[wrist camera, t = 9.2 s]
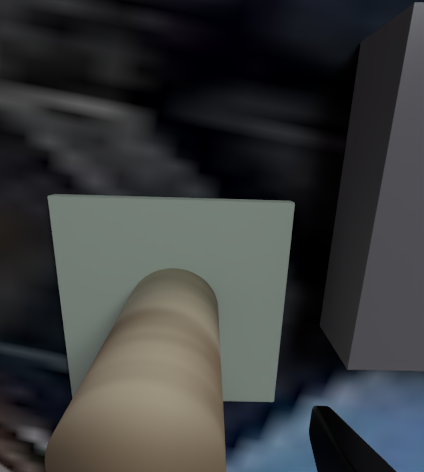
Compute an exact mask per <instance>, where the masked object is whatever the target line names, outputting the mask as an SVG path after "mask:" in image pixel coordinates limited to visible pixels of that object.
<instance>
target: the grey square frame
mask: <svg viewBox="0 0 424 472" xmlns="http://www.w3.org/2000/svg"><path fill="white" fill-rule="evenodd" d="M320 327H321V329H322V330H323V332H324V333H325V335H326V337H327V338H328V340H329V341H330V343H331V344H332V346H333V348H334V349H335V351H336V352H337V354H338V355H339V357H340V359H341V360H342V362H343V363H344V365H345V367H346V368H347V370H389V371H424V3H423V2H414V3H413V4H412V5H410V6H409V7H407V8H406V9H405V10H403V11H402V12H401V13H399V14H398V15H397V16H395V17H394V18H393V19H391V20H390V21H389V22H387V23H386V24H385V25H383V26H382V27H380V28H379V29H378V30H376V31H375V32H374V33H372V34H371V35H370V36H368V37H367V38H366V39H364V40H363V41H362V42H361V44H360V51H359V58H358V65H357V72H356V79H355V86H354V93H353V99H352V106H351V113H350V120H349V127H348V134H347V141H346V148H345V154H344V161H343V168H342V175H341V182H340V189H339V196H338V203H337V209H336V216H335V223H334V230H333V237H332V244H331V251H330V258H329V264H328V271H327V278H326V285H325V292H324V299H323V306H322V313H321V319H320Z"/></svg>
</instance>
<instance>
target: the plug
mask: <svg viewBox="0 0 424 472" xmlns="http://www.w3.org/2000/svg"><path fill="white" fill-rule="evenodd" d="M45 470H46V472H226V454H225V433H224V413H223V393H222V373H221V353H220V333H219V313H218V302H217V298H216V295H215V293H214V291H213V289H212V288H211V287H210V285H209V284H208V283H207V282H206V281H205V280H204V279H203V278H201V277H200V276H198V275H197V274H195V273H193V272H190V271H187V270H183V269H177V268H167V269H161V270H158V271H155V272H153V273H151V274H149V275H147V276H146V277H144V278H143V279H142V280H141V281H140V282H139V283H138V284H137V286H136V287H135V288H134V290H133V292H132V294H131V296H130V297H129V299H128V301H127V303H126V304H125V306H124V308H123V310H122V312H121V313H120V315H119V317H118V319H117V320H116V322H115V324H114V326H113V328H112V329H111V331H110V333H109V335H108V336H107V338H106V340H105V342H104V344H103V345H102V347H101V349H100V351H99V352H98V354H97V356H96V358H95V360H94V361H93V363H92V365H91V367H90V369H89V370H88V372H87V374H86V376H85V377H84V379H83V381H82V383H81V385H80V386H79V388H78V390H77V392H76V393H75V395H74V397H73V399H72V401H71V402H70V404H69V406H68V408H67V409H66V411H65V413H64V415H63V417H62V418H61V420H60V422H59V424H58V425H57V427H56V429H55V431H54V433H53V434H52V436H51V438H50V440H49V442H48V445H47V449H46V453H45Z"/></svg>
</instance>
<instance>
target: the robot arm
mask: <svg viewBox="0 0 424 472" xmlns="http://www.w3.org/2000/svg"><path fill="white" fill-rule="evenodd" d="M309 436H310V441H311V446H312V450H313V454H314V459H315V463H316V467H317V472H396V471H395V470H394V469H393V468H392V467H391V466H390V465H389V464H388V463H387V462H386V461H385V460H384V459H383V458H382V457H381V456H380V455H379V454H377V453H376V452H375V451H374V450H373V449H372V448H371V447H370V446H369V445H368V444H367V443H366V442H365V441H364V440H363V439H362V438H361V437H360V436H359V435H358V434H357V433H356V432H355V431H354V430H353V429H352V428H351V427H350V426H349V425H348V424H347V423H346V422H344V421H343V420H342V419H341V418H340V417H339V416H338V415H337V414H336V413H335V412H334V411H333V410H332V409H331V408H330V407H328V406H314V407H313V409H312V414H311V420H310V427H309Z"/></svg>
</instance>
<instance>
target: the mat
mask: <svg viewBox="0 0 424 472" xmlns="http://www.w3.org/2000/svg"><path fill="white" fill-rule="evenodd" d="M48 203H49V211H50V220H51V228H52V236H53V244H54V252H55V260H56V268H57V277H58V285H59V293H60V301H61V309H62V317H63V325H64V334H65V342H66V350H67V358H68V366H69V374H70V383H71V391H72V398H73V397H74V395H75V393H76V392H77V390H78V388H79V386H80V385H81V383H82V381H83V379H84V377H85V376H86V374H87V372H88V370H89V369H90V367H91V365H92V363H93V361H94V360H95V358H96V356H97V354H98V352H99V351H100V349H101V347H102V345H103V344H104V342H105V340H106V338H107V336H108V335H109V333H110V331H111V329H112V328H113V326H114V324H115V322H116V320H117V319H118V317H119V315H120V313H121V312H122V310H123V308H124V306H125V304H126V303H127V301H128V299H129V297H130V296H131V294H132V292H133V290H134V288H135V287H136V286H137V284H138V283H139V282H140V281H141V280H142V279H143V278H144V277H146V276H147V275H149V274H151V273H153V272H155V271H158V270H161V269H167V268H177V269H183V270H187V271H190V272H193V273H195V274H197V275H198V276H200V277H201V278H203V279H204V280H205V281H206V282H207V283H208V284H209V285H210V287H211V288H212V289H213V291H214V293H215V295H216V298H217V302H218V313H219V333H220V353H221V373H222V393H223V401H252V402H274V395H275V386H276V376H277V367H278V357H279V348H280V338H281V329H282V319H283V310H284V301H285V291H286V282H287V272H288V263H289V253H290V244H291V234H292V225H293V216H294V206H295V203H294V202H292V201H279V200H244V199H208V198H173V197H137V196H102V195H66V194H54V195H50V196H48Z"/></svg>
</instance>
